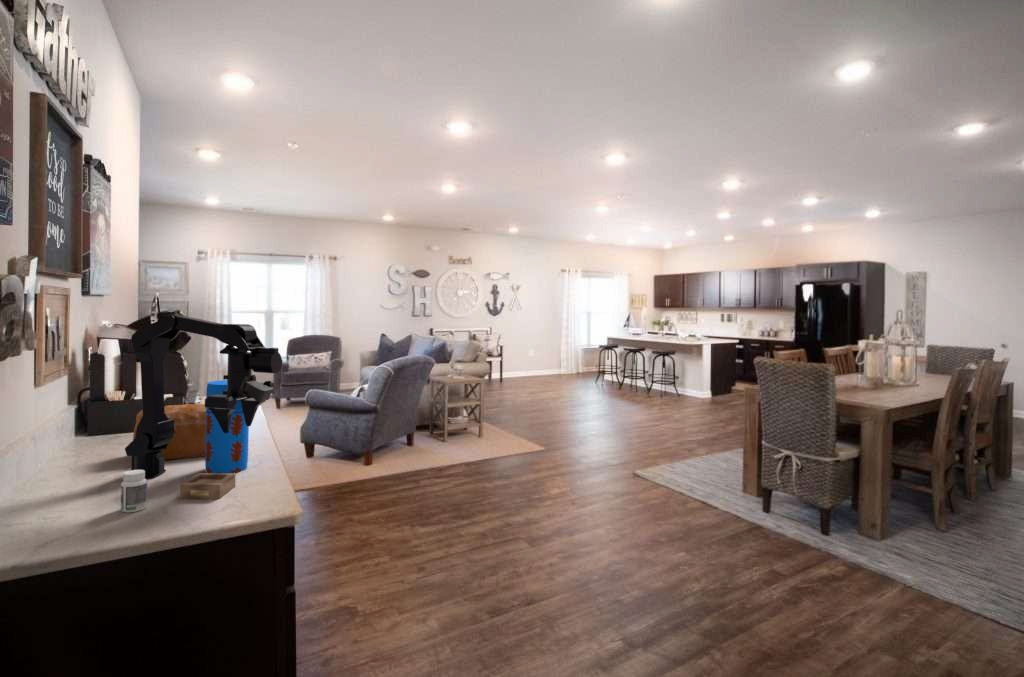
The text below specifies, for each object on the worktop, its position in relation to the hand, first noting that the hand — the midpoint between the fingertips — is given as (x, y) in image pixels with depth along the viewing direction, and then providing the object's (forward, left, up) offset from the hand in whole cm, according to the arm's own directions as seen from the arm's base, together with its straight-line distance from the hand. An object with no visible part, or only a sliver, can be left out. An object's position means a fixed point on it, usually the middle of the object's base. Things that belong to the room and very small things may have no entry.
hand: (237, 429), depth 137 cm
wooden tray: (-3, -9, -14) cm, 17 cm away
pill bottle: (-14, -20, -14) cm, 28 cm away
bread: (-26, +27, -14) cm, 40 cm away
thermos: (-7, +11, -14) cm, 19 cm away
